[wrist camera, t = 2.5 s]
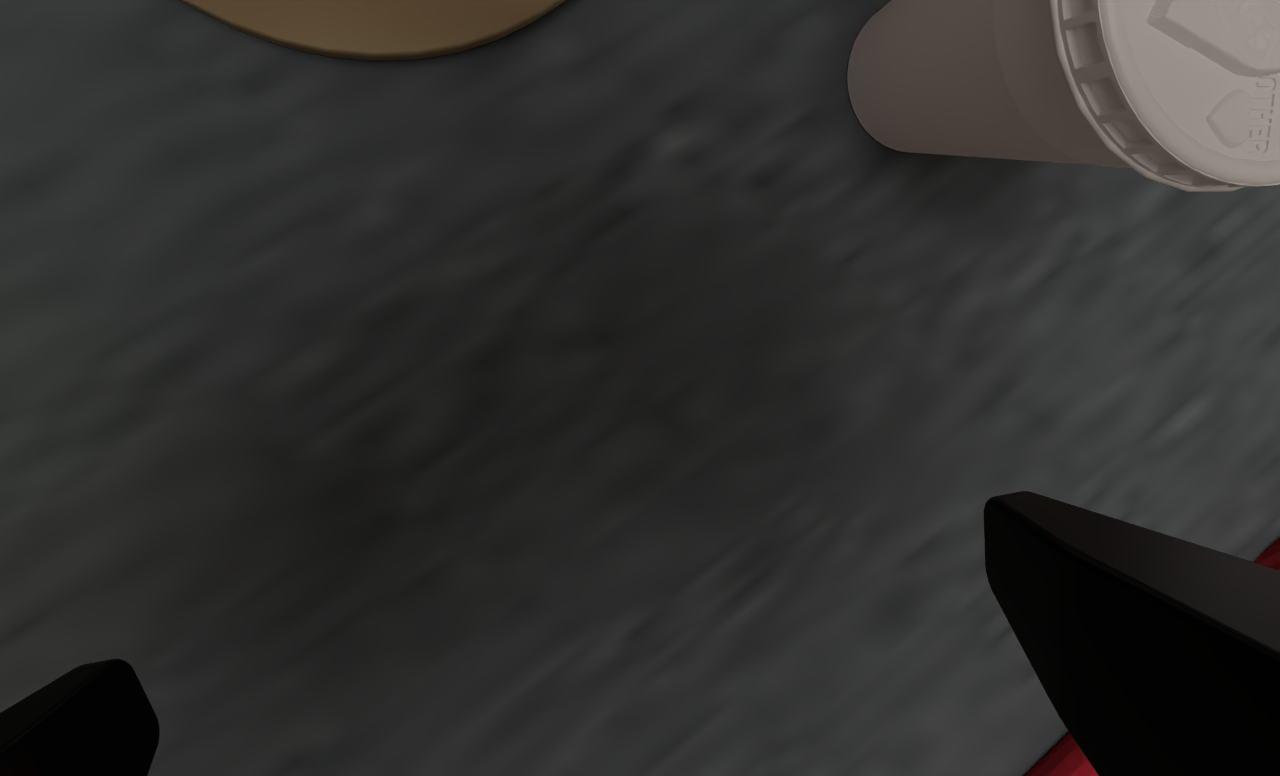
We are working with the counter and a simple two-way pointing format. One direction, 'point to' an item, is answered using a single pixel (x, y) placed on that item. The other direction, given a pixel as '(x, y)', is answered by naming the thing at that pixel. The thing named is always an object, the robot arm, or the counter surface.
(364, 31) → the plate
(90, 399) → the counter surface
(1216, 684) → the robot arm
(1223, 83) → the smoothie
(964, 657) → the counter surface
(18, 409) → the counter surface
